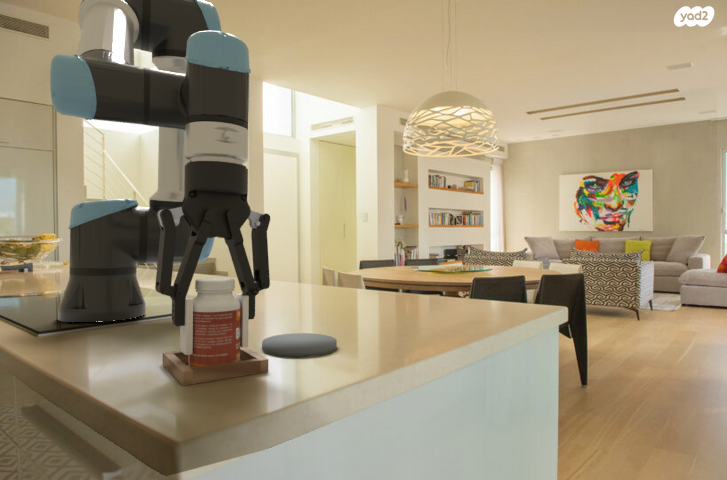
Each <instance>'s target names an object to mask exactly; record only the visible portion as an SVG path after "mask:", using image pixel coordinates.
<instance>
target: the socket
mask: <svg viewBox="0 0 727 480" xmlns="http://www.w3.org/2000/svg"><path fill="white" fill-rule="evenodd" d="M187 364H188V355H185V354H184V353H183V352H181V351H180V350H175V351H166V352H162V366H163V367H164V368H165V369H166V370H167V371H168V372H169V373H170V374H171V375H172V376H173V377H174V378H175V379H176V380H177V382H179V383H180V384H181V385H182V386H183V387H184V386H189V385H190V386H191V385H194V384H202V383H206V382H207V383H208V382H213V381H218V380H226V379H232V378H237V377H244V376H250V375H255V374H261V373H262V374H263V373H267V372H269V358H267V357H265V356H263V355H261V354H260V353H258V352H256V351H254V350H252V349H251V348H249V347H245V348H242V347H240V361H238V362H231V363H224V364H217V365H210V366H204V367H197V368H189V366H188V365H187Z"/></svg>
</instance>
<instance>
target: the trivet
mask: <svg viewBox="0 0 727 480" xmlns="http://www.w3.org/2000/svg"><path fill="white" fill-rule="evenodd" d="M337 342H338V341H337V339H336V338H335V337H333V336H330V335H326V334H321V333H320V334H319V333H310V332H309V333H308V332H307V333H306V332H300V333H299V332H296V333H294V332H293V333H283V334H276V335H272V336H269V337H266V338H264V339H263V340H262V341H261V350H262V351H263V352H264V353H265V354H267V355H268V354H269V355H271V356H276V357H277V356H278V357H285V358H286V357H288V358H305V357H318V356H322V355H328V354H329V353H332V352H334V351H336V349H337V346H338V345H337Z"/></svg>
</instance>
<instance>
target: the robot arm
mask: <svg viewBox="0 0 727 480" xmlns="http://www.w3.org/2000/svg"><path fill="white" fill-rule="evenodd" d="M78 8H79V9H78V13H77V21H78V25H79V27H80V30H81V31H80V36H79V41H78V44H77V49H76V53H75V54H72V55H71V54H63V53H61V54H56V55H54V56H53V57H52V58H51V62H50V72H49V74H50V75H49V76H50V77H49V81H50V82H49V83H50V84H49V85H50V86H49V87H50V98H51V104H52V107H53V109H54V110H55V111H56V112H57V113H58V114H60V115H63V116H69V117H75V118H81V119H84V120H86V121H88V120H89V121H91V120H95V121H102V122H103V121H106V122H114V123H115V122H116V123H122V124H125V123H126V124H131V125H132V124H133V125H134V124H135V125H142V126H143V125H144V126H149V127H158V154H157V155H158V157H157V159H158V160H157V161H158V164H157V165H158V166H157V189H156V191H155V192H154V193H153V194H152V195H151V196H150V197H149V204H148V206H139V202H138V200H137V199H135V198H115V199H102V200H91V201H83V202H79V203H76V204H75V205H74V206H72V208H71V211H70V219H69V220H70V221H69V226H68V230H69V233H70V235H69V274H68V275H69V278H68V282H67V284H66V287H65V290H64V292H63V296H62V297H61V299H60V303H59V305H58V309H57V320H58V321H59V322H62V323H68V322H72V324H74V323H73V322H96V321H97V322H98V321H113V320H123V319H130V318H135V317H139V316H142V317H144V316H145V315H146V309H147V307H146V306H147V305H146V301H145V299H144V295H143V292H142V290H141V286H140V284H139V280H138V277H137V269H138V268H137V266H138V264H157V265H156V274H155V275H156V276H155V286H154V289H155V291H156V292H157V293H159V294H161V295H163V296H168V297H169V298H170V299H171V322H172V324H173V326H175V327H179V351H181V352H183V353H184V354H185V355H191V354H192V349H193V298H191V297H188V296H187V294H188V292H189V290H190V286H191V284H192V280H193V278H194V275H195V272H196V269H197V267H198V263H202V262H205V261H206V260H207V259H208V258H209V257H210V255H211V252H212V250H213V247H214V242H215V238H219V239H224V243H225V244H226V245H227V248H228V252H229V254H230V258H231V261H232V265H233V268H234V272H235V274H236V278H237V280H238V283H239V284H238V285H239V287H240V290H241V293H235V295H234V296H235V297H237V298H238V299H239V301H240V347H242V348H245V347H247V348H249V320H254V319H255V316H256V296H257V295H258V294H260V291H263V290H267V289H269V288H270V286H271V281H270V280H271V279H270V263H269V262H270V261H269V242H268V230H269V226H270V222H271V216H270V214H269V213H260V212H258V211H254V210H252V209H251V206H250V204H249V202H248V193H249V188H248V187H249V185H248V184H249V170H248V168H247V166H246V165H244V164H245V163H247V162H248V161H249V109H250V108H249V106H250V74H251V71H252V70H251V67H250V53H249V52H250V51H249V48H248V45H247V43H245V42H244V41H243V39H241V38H239V37H238V36H236V35H234V34H232V33H228V32H223V31H222V26H221V19H220V15H219V13H218V10H217V8H216V7H215V5H214V4H212V3H211V2H210V1H206V0H82V1H81V2H80V5H79V7H78ZM135 50H141V51H145V52H149V53H151V63H152V64H153V65H154V66H155V67H156V68H157V69H155V68H150V67H143V66H137V65H135ZM247 220H248V221H249V222H248V223H249V224H248V225H249V227H250V228H251V233H250V234H251V236H250V237H251V253H252V268H253V269H251V265H250V262H249V258H248V256H247V251H246V249H245V245H244V242H245V241H244V237H243V234H242V231H241V228H242V227H243V225H244V224H245V223H246V222H247ZM175 263H179V264H180V266H179V268H178V270H177V274H176V276H175V279H174V283H173V285H172V280H173V272H174V271H173V268H174V264H175ZM252 270H253V272H252ZM143 315H144V316H143ZM139 318H140V317H139ZM135 319H136V318H135ZM130 320H131V319H130ZM123 321H124V320H123Z"/></svg>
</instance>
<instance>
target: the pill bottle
mask: <svg viewBox="0 0 727 480" xmlns="http://www.w3.org/2000/svg"><path fill="white" fill-rule="evenodd" d="M235 281H236V280H235V278H228V277H210V278H209V277H207V278H197V279H195V282H194V283H195V284H194V290H195V292H196V293H197V295H196V296H195V297H193V298H192V299H193V349H192V354H191V355H188V363H187V364H188V365H187V366H188V367H189V368H197V367H204V366H210V365H217V364H224V363H231V362H238V361H241V360H240V301H239V299H238V298H237V297H235V295H233V292H234V291H235V288H236V285H235V284H236V283H235Z"/></svg>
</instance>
